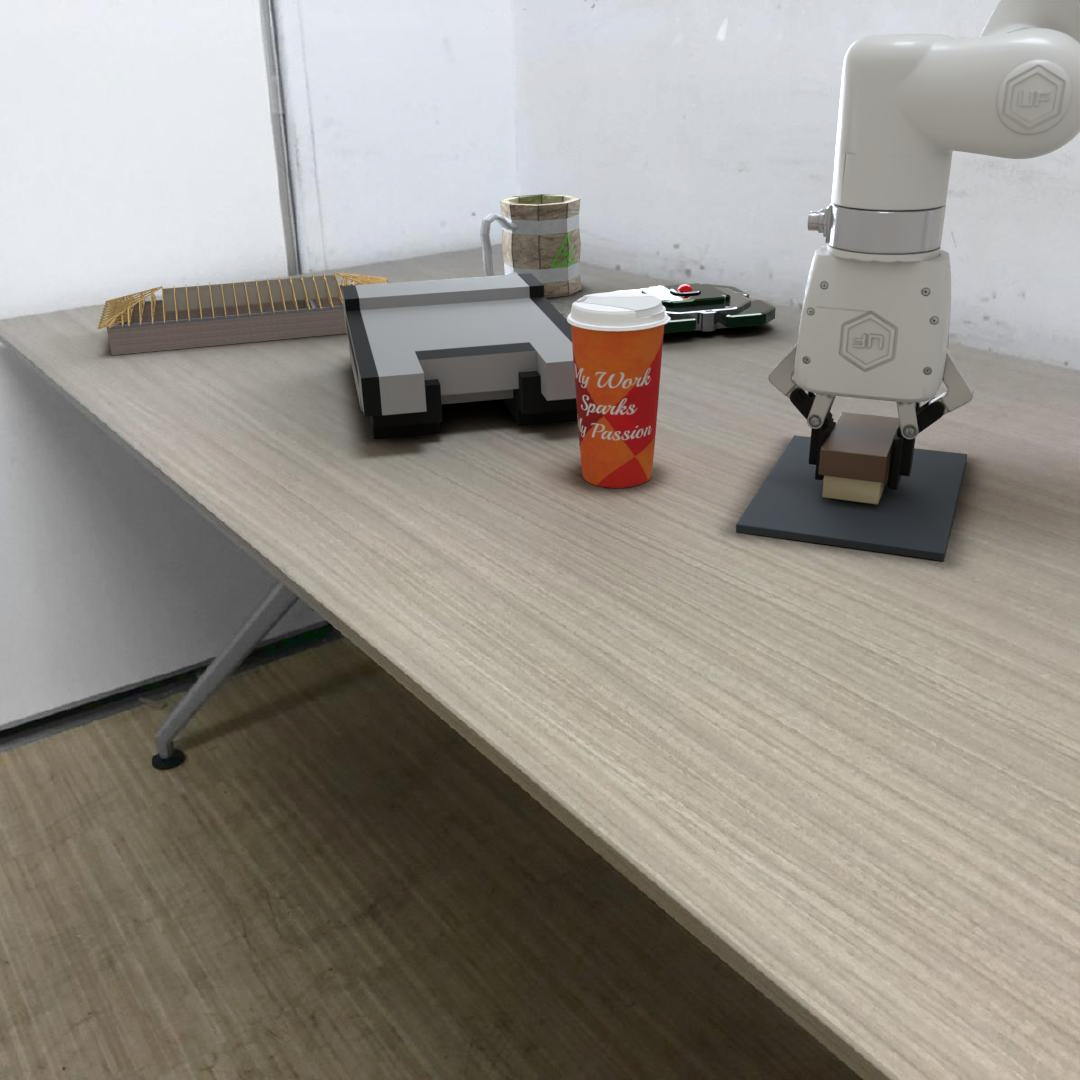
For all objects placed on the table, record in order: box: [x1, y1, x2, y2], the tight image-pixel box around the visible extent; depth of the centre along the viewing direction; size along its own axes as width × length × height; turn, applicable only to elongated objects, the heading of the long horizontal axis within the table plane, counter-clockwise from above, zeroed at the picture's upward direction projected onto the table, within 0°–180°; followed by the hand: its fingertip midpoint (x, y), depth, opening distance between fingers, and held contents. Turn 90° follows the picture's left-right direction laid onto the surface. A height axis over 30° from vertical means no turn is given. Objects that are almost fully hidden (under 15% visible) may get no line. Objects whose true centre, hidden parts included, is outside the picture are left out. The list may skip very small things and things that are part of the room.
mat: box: [735, 435, 968, 562], centre depth 84 cm, size 20×14×1 cm
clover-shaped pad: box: [611, 282, 777, 334], centre depth 134 cm, size 18×18×5 cm
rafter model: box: [96, 271, 391, 356], centre depth 136 cm, size 35×14×6 cm, turn 106°
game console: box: [341, 273, 578, 439], centre depth 109 cm, size 21×32×8 cm, turn 12°
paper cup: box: [566, 291, 671, 489], centre depth 86 cm, size 8×8×14 cm
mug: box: [479, 193, 583, 299], centre depth 150 cm, size 16×11×12 cm
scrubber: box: [819, 411, 900, 504], centre depth 83 cm, size 9×5×4 cm, turn 157°
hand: (858, 476), depth 84 cm, fingers closed on scrubber, 4 cm apart
